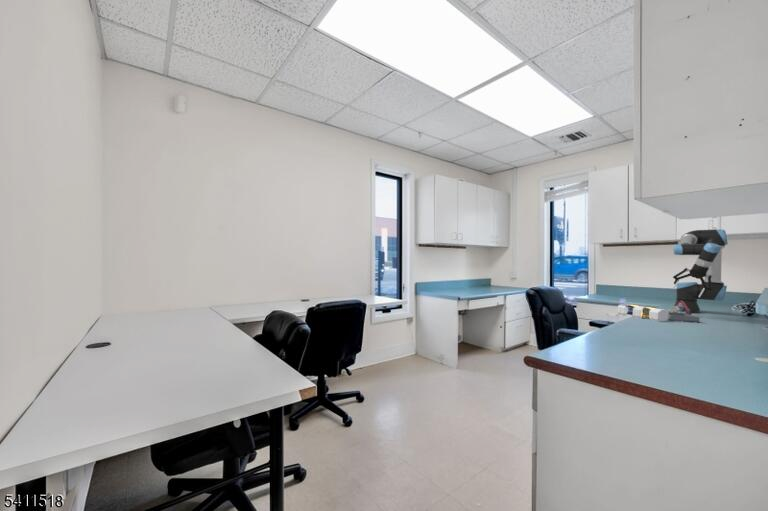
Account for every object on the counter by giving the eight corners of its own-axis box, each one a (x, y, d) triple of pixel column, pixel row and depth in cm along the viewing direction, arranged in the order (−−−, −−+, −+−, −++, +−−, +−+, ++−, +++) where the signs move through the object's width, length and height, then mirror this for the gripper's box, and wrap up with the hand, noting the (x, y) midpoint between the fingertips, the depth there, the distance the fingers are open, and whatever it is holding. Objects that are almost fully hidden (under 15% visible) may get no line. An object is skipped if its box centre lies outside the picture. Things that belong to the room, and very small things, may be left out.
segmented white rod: (617, 314, 220) (617, 296, 220) (627, 314, 223) (627, 296, 223) (657, 322, 196) (658, 301, 196) (668, 321, 199) (668, 301, 199)
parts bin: (685, 318, 210) (685, 313, 210) (699, 322, 195) (699, 317, 195) (658, 316, 215) (658, 311, 215) (670, 320, 200) (670, 315, 200)
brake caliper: (699, 314, 214) (688, 300, 214) (686, 323, 214) (675, 309, 214) (683, 311, 225) (673, 298, 225) (671, 320, 225) (661, 307, 226)
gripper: (677, 259, 213) (663, 286, 221) (727, 274, 197) (710, 302, 205) (678, 257, 218) (664, 283, 226) (727, 271, 202) (710, 299, 210)
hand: (686, 292), depth 216 cm, fingers open, 13 cm apart
